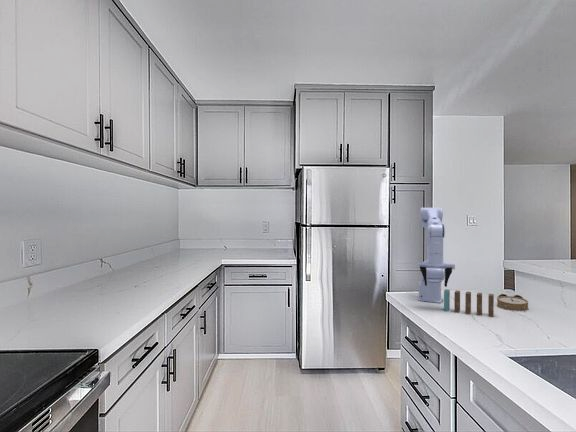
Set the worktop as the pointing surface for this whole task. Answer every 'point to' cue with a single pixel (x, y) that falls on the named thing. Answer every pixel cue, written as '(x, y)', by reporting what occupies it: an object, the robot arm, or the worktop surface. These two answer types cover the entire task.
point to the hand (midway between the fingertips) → (435, 285)
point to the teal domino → (446, 300)
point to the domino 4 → (491, 305)
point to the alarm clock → (512, 302)
